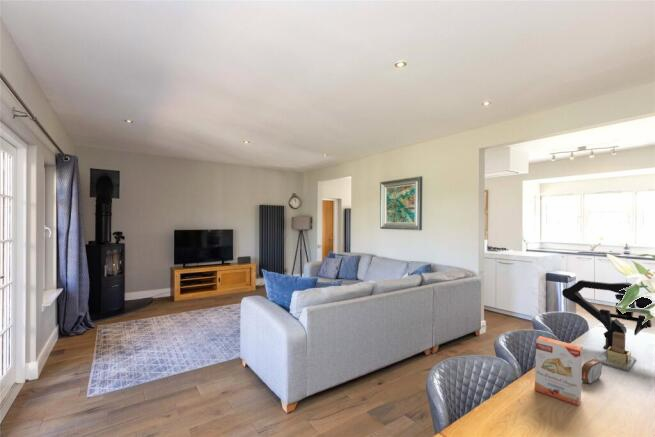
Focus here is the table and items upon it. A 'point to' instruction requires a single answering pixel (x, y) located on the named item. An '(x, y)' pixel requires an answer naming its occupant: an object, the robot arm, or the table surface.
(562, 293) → the robot arm
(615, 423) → the table surface
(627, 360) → the base plate
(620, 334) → the brown square block
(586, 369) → the tin
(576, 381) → the cracker box
